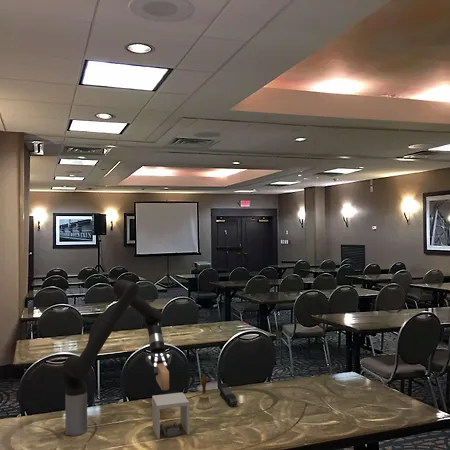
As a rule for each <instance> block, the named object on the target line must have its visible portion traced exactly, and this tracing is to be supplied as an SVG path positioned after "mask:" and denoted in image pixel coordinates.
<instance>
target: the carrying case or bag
mask: <svg viewBox="0 0 450 450" xmlns="http://www.w3.org/2000/svg"><path fill="white" fill-rule="evenodd" d="M172 393H181V392H179V391H178V390H173V391H169V392H168V391H167V392H164V393H163V394H162V395H164V394H172ZM185 397H186V398H187V399H188V397H187V396H185Z"/></svg>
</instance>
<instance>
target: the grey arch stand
mask: <svg viewBox="0 0 450 450" xmlns="http://www.w3.org/2000/svg"><path fill="white" fill-rule="evenodd" d="M163 394H164V393H163ZM163 394H157V395H151V401H152V404H151V405H152V406H151V407H152V409H151V410H152V411H151V412H152V415H151V416H152V423H151V424H152V429H153V431H154V434H155V437H156V439H157V440H160V439H161V430H162V433H163V435H164V437H174V436H180V435H181V434H182V433H181V429H180V427H179V425H178V424H177V422H176V421H173V427H171V428H169V427H168V428H165V426H164V423H161V422H160V421H161V418H160V412H161V410H162V409H171V408H179V407H180V411H179V413H180V415H179V416H180V425H181V427H182V428H183V430H184V431H185V433H186V435H190V434H191V433H190V430H191V429H190V401H189V400H188V397H187V396H185V394H184V393H183V392H180V393H172V394H164V395H163ZM186 397H187V398H186ZM160 429H161V430H160Z"/></svg>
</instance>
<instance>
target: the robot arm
mask: <svg viewBox="0 0 450 450" xmlns="http://www.w3.org/2000/svg"><path fill="white" fill-rule="evenodd" d="M112 286H113V287H112V292H113V294H114V296H116V297H117V298H119V299H118V301H117V302H116V303H115V304H113V305H112V306H111V307H109V308H107V309H106V310H104V311H103V312H101V314H99V315H98V317H97V318H96V319H95V321H94V323H93V324H92V326H91V328H90V331H89V335H88V341H87V344H86V346H85V348H84V349H83V350H82V352H81V353H80V355H79V356H78V355H69V356H68V357H67V358H65V360H64V362H63V366H62V381H63V382H62V383H63V385H62V386H63V388H64V393H65V413H64V416H65V418H64V419H65V426H64V427H65V436H73V437H74V436H81V435H83V434H85V433H87V432H88V387H87V384H86V382H85V381H84V380H83V379H84V378H85V377H87V375H88V374H89V372H90V371H91V369H92V367H93V365H94V363H95V361H96V360H97V357H98V355H99V353H100V351H101V350H102V348H103V347H104V345H105V344H106V342H107V340H108V339H109V337H110V336H111V334H112V332H113V331H114V329H115V328H116V326H117V324H118V323H119V321H120V319H122V316H123V315H124V313H125V312H126V311H127V309H128V308H129V307H131V308H132V309H133V310H135V312H137V313H138V314H139V316H141V317H142V320H143V323H144V325H145V327H146V330H147V332H148V343H149V351H150V355H146V356H145V361H146V364H147V365H148V367H149V368H150V369H153V373H154V375H155V377H156V376H157V375H158V371H157V367H156V365H157V364H160V363H163V364H164V365H165V367H166V368H167V369H168V368H170V366H171V361H172V357H173V354H172V353H169V354H168V353H167V352H166V346H165V340H164V339H165V338H164V335H163V332H162V331H163V329H162V327H161V325H159V324H160V323H161V322H162V321H163V320H164V314H163V312H162V311H161V310H159V309H158V308H156V307H154V306H151V305H150V304H149V303H148V301H146V300H145V299H144V298H142V297H141V296H139V295H138V293H139V290H140V289H139V285H138V284H137V283H136V282H134V281H131V280H127V279H119V280H118V279H117V280H116V281H115V283H114V284H113V285H112ZM166 358H167V362H166ZM151 360H152V361H153V362H154V363H153V362H152V361H151Z"/></svg>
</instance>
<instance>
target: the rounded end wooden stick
mask: <svg viewBox="0 0 450 450" xmlns="http://www.w3.org/2000/svg"><path fill="white" fill-rule="evenodd" d="M156 367H157V371H158V375H157V376H156V375H155V381H156V383H157V384H158V386H159V389H161V390H162V391H169V390H170V370H169V369H168V367H167V368H166V367H165V365H164V364H163V363H161V362H159V363H157V365H156Z"/></svg>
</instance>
